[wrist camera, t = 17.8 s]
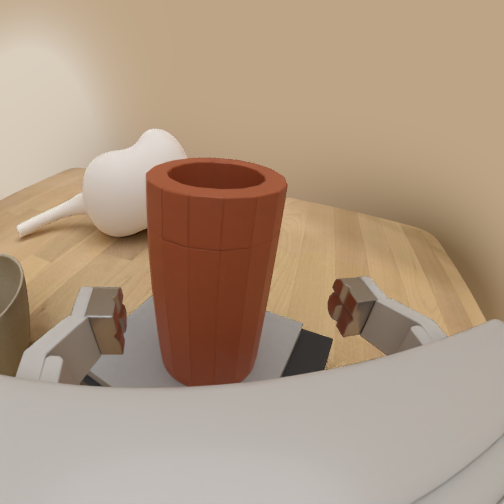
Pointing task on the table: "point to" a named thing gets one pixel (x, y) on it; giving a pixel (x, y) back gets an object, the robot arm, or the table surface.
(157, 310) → the jar
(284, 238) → the table surface
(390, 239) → the table surface
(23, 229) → the stomach
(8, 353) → the olive grey bowl
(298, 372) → the scale
